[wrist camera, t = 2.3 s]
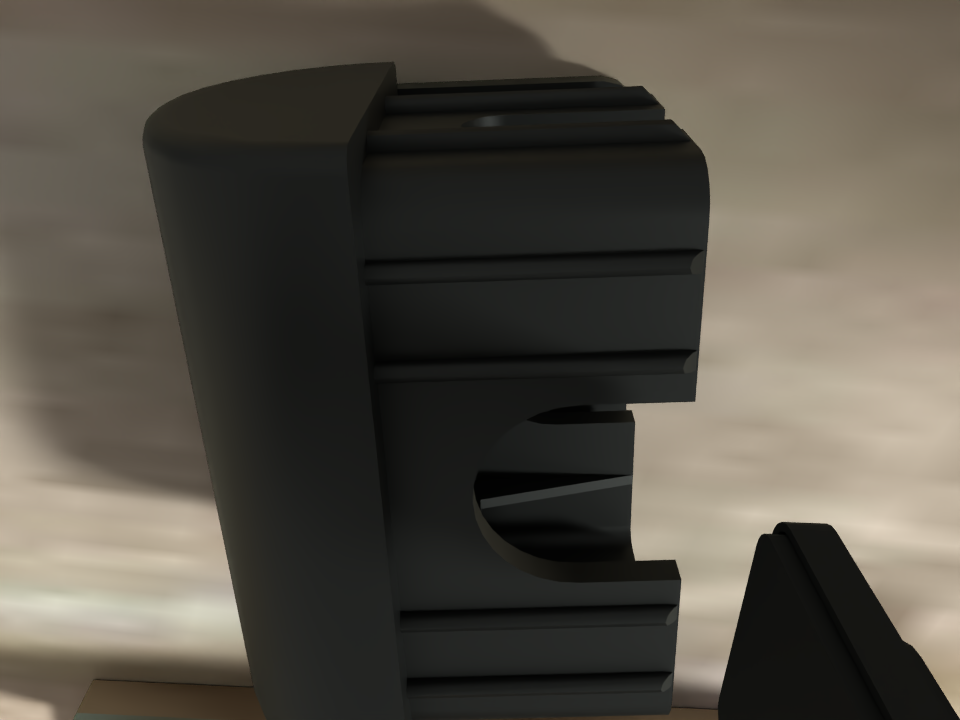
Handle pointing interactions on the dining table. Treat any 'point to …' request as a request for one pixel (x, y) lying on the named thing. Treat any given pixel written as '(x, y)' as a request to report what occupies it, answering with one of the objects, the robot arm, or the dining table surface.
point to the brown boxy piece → (238, 704)
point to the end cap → (435, 380)
